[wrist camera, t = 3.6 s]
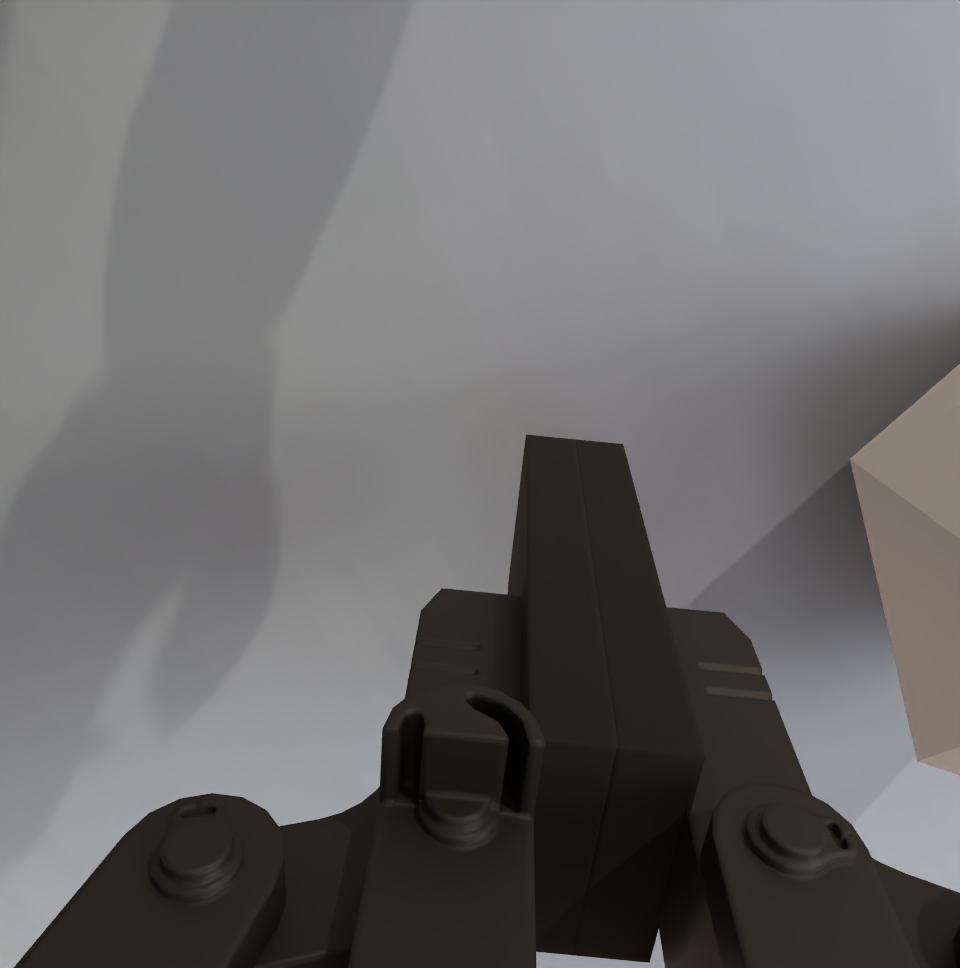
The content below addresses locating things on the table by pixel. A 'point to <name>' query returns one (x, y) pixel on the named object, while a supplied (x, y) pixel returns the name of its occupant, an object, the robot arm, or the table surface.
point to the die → (920, 560)
